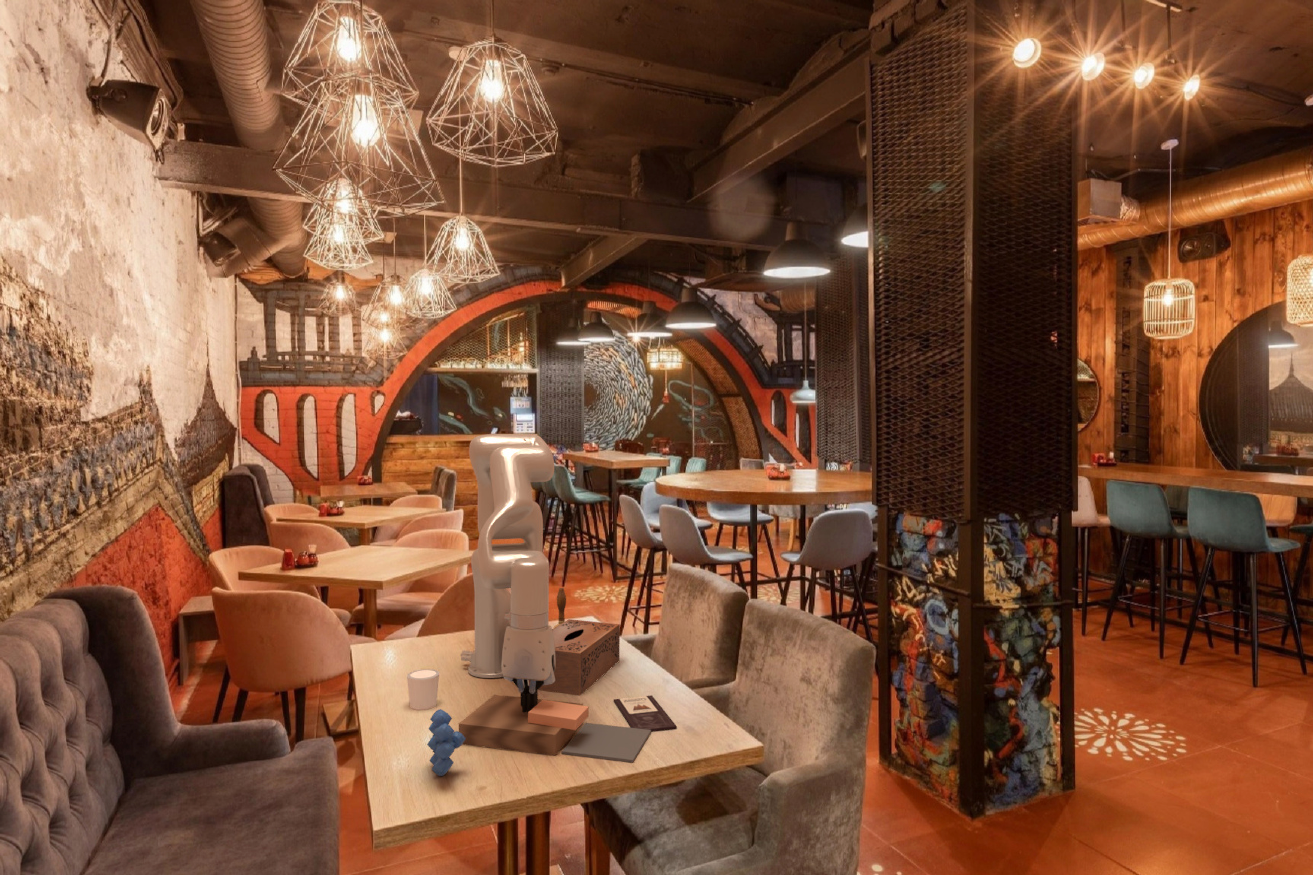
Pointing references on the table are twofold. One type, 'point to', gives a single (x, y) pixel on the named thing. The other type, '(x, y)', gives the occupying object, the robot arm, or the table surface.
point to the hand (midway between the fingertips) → (529, 710)
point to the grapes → (443, 742)
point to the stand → (511, 728)
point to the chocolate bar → (644, 713)
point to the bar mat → (607, 742)
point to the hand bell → (561, 605)
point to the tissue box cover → (582, 654)
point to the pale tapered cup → (423, 688)
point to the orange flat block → (558, 714)
